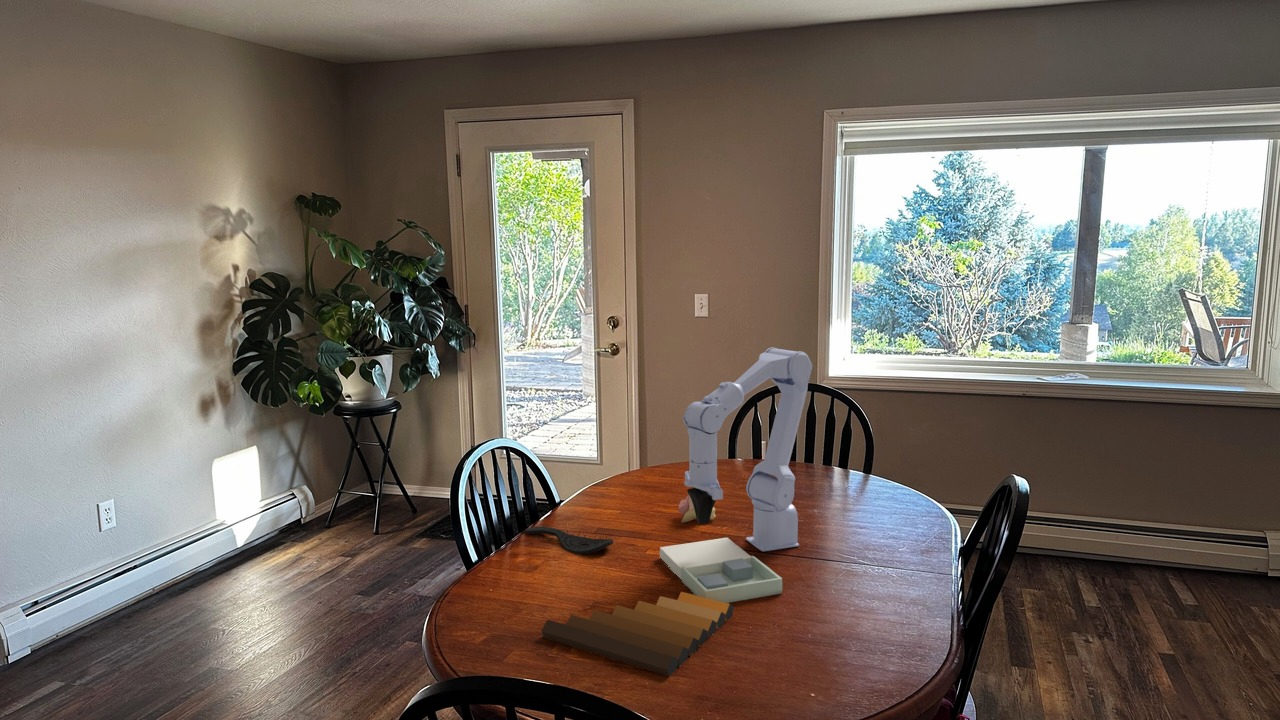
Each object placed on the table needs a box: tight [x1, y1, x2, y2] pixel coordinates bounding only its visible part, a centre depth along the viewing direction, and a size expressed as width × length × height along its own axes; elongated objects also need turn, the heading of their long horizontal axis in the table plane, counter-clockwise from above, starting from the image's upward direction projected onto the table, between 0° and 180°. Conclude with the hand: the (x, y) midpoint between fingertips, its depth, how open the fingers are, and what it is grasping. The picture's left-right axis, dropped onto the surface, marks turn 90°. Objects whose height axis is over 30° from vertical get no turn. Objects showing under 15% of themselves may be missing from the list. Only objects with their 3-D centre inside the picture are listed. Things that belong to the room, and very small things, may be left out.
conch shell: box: [678, 494, 717, 524], centre depth 195 cm, size 9×10×10 cm
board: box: [659, 537, 752, 580], centre depth 170 cm, size 16×12×2 cm
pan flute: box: [541, 591, 735, 677], centre depth 143 cm, size 25×3×25 cm
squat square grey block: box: [723, 558, 753, 582], centre depth 162 cm, size 4×4×2 cm
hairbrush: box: [524, 525, 614, 556], centre depth 183 cm, size 8×4×25 cm
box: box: [680, 555, 783, 604], centre depth 158 cm, size 16×12×3 cm
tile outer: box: [697, 574, 728, 590], centre depth 155 cm, size 4×4×2 cm
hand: (703, 522), depth 168 cm, fingers closed
